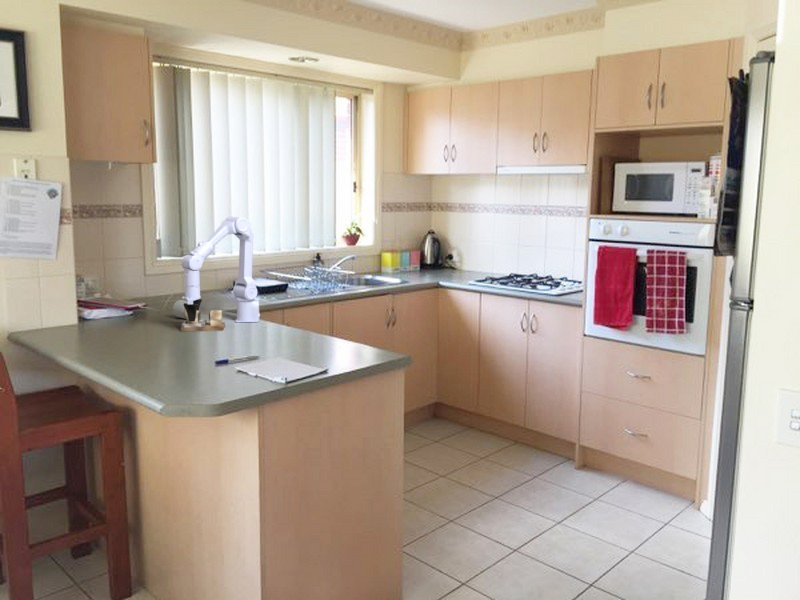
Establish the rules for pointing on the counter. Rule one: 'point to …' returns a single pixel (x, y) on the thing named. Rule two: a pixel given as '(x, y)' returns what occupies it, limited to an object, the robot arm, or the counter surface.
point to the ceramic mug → (180, 309)
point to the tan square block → (195, 318)
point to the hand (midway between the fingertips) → (193, 319)
